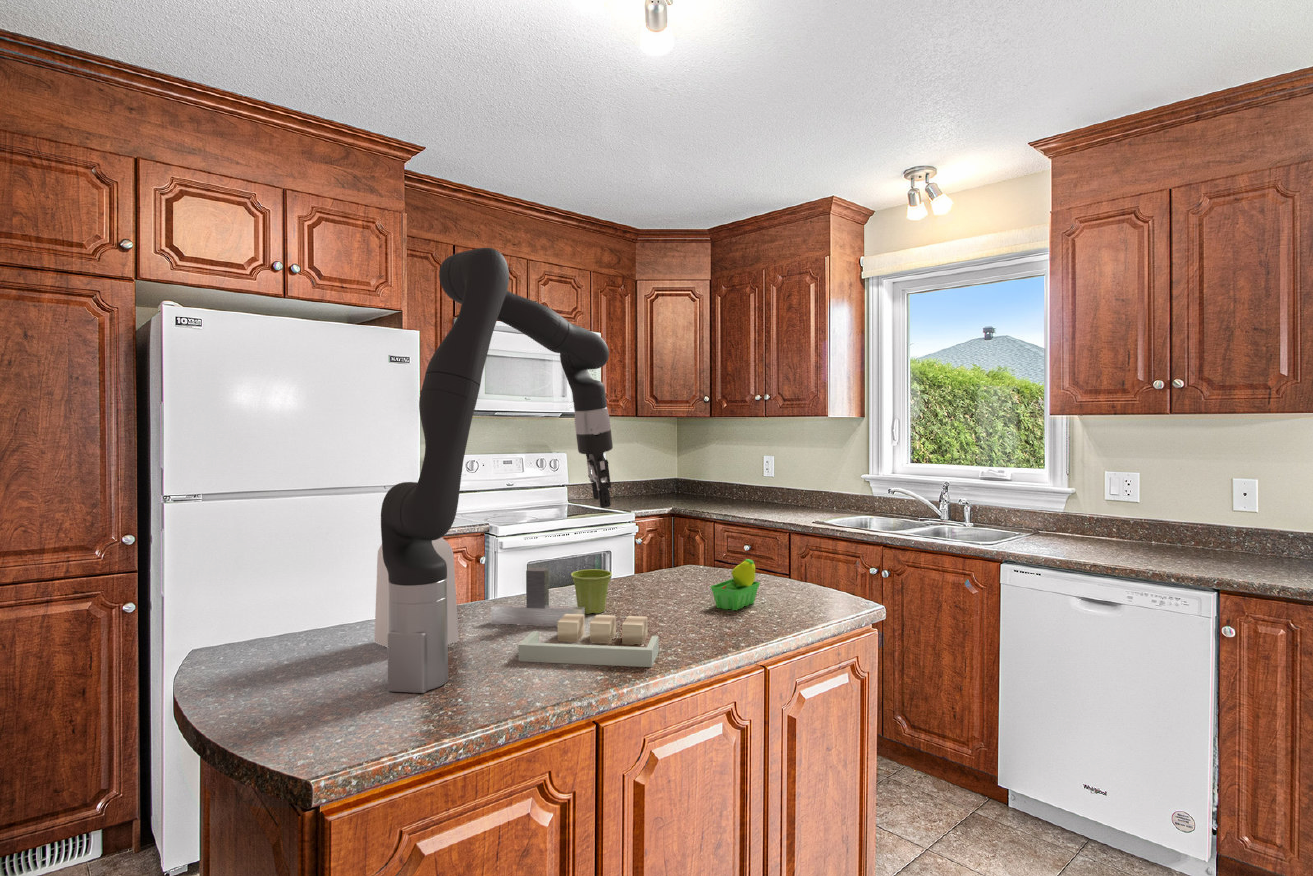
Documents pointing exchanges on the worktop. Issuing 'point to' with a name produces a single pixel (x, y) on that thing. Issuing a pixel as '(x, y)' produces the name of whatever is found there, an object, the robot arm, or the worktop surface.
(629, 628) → the block right
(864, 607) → the worktop surface
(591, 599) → the plant pot
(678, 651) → the worktop surface
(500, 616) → the t-shaped handle
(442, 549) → the milk
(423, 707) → the worktop surface
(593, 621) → the block middle
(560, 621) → the block left
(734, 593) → the fruit basket
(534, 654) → the tray
